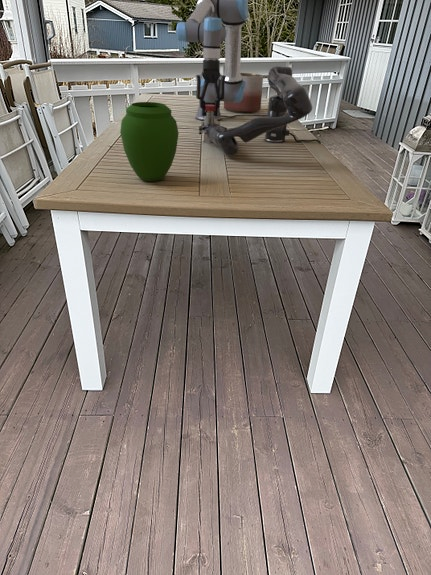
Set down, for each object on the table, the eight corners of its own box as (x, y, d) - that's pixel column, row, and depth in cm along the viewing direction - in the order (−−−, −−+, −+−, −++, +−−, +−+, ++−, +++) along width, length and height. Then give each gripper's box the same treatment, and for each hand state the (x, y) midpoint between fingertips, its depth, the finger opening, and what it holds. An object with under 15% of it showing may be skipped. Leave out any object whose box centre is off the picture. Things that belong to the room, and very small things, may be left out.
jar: (210, 143, 196) (211, 108, 188) (201, 141, 198) (202, 107, 190) (215, 141, 200) (217, 107, 191) (207, 140, 202) (208, 106, 193)
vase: (131, 189, 135) (125, 110, 122) (118, 172, 150) (112, 100, 137) (186, 184, 142) (187, 109, 129) (169, 168, 157) (167, 99, 144)
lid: (213, 109, 194) (213, 104, 193) (217, 111, 190) (217, 106, 189) (202, 109, 193) (202, 104, 191) (206, 111, 188) (206, 106, 187)
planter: (264, 113, 274) (268, 77, 262) (227, 113, 270) (229, 75, 258) (255, 107, 295) (258, 73, 283) (220, 106, 291) (222, 72, 279)
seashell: (219, 131, 220) (219, 115, 216) (220, 133, 215) (221, 117, 211) (201, 130, 219) (202, 114, 214) (202, 133, 214) (203, 116, 210)
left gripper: (228, 59, 186) (225, 114, 198) (189, 58, 181) (188, 114, 193) (234, 60, 180) (230, 117, 192) (193, 59, 175) (192, 117, 187)
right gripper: (201, 143, 184) (193, 135, 198) (231, 142, 188) (221, 134, 201) (202, 125, 180) (193, 118, 194) (233, 125, 184) (222, 118, 197)
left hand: (209, 115), depth 193 cm, fingers closed on lid, 5 cm apart
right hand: (207, 126), depth 198 cm, fingers closed on jar, 5 cm apart
